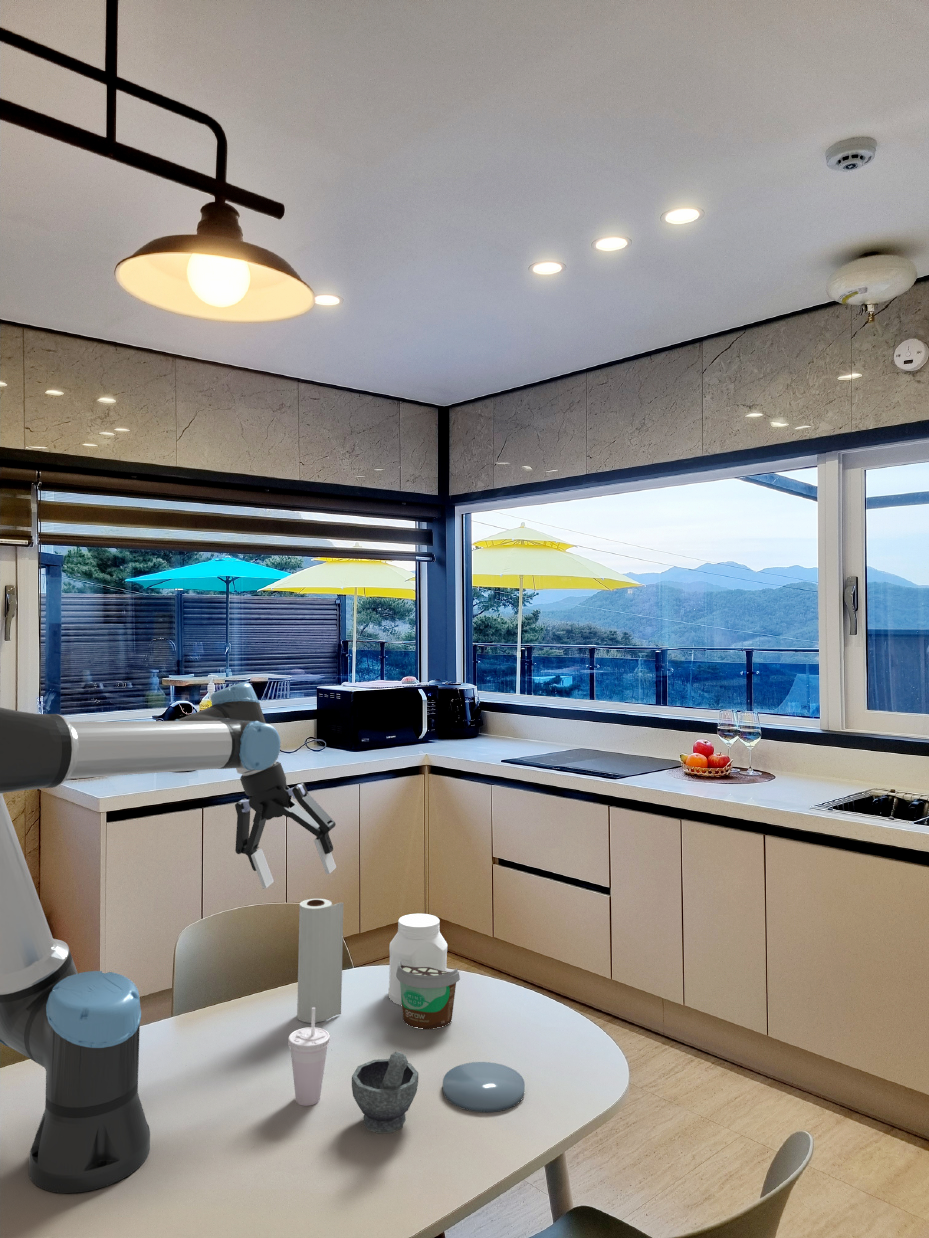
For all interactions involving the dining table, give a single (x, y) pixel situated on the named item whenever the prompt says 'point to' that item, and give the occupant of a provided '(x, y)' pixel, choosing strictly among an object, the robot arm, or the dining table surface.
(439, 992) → the food container
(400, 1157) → the dining table surface
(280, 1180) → the dining table surface
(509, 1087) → the dish
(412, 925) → the jar
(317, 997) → the paper towel roll
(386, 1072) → the mortar and pestle
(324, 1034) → the smoothie
